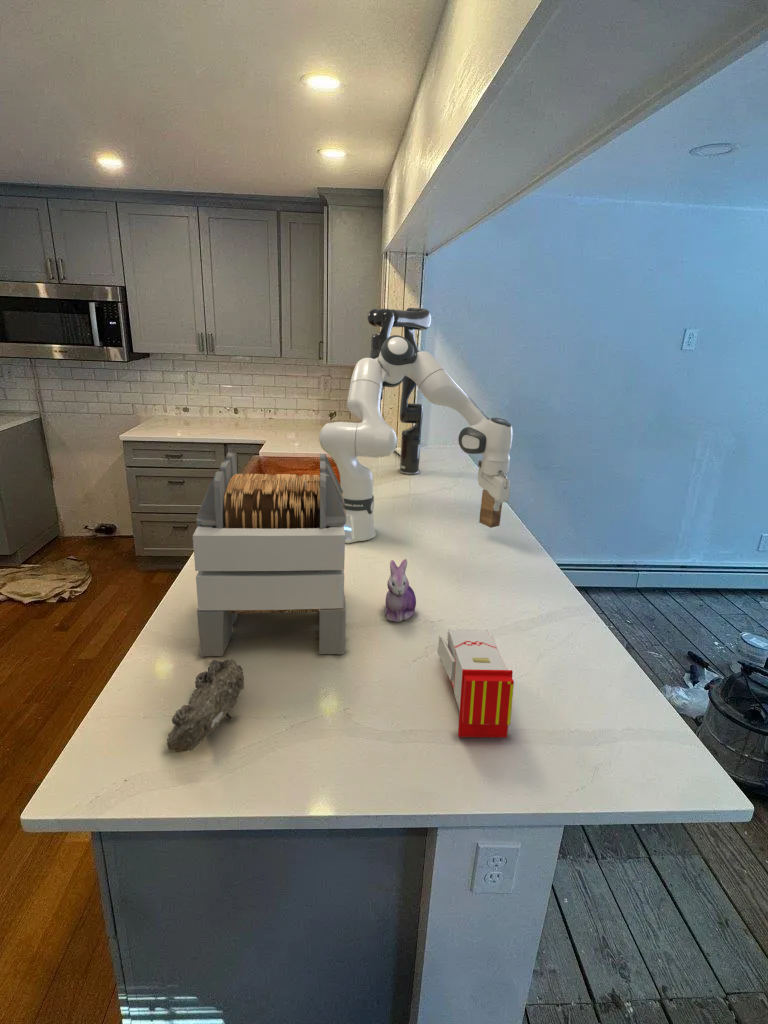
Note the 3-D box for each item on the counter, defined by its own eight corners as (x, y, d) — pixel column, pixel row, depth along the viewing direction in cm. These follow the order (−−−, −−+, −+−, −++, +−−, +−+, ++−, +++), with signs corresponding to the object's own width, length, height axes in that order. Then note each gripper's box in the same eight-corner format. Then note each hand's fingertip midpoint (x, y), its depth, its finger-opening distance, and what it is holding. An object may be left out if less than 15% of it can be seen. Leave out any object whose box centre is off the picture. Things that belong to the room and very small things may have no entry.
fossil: (192, 660, 117) (244, 628, 112) (224, 691, 120) (276, 661, 115) (142, 746, 98) (202, 712, 93) (182, 779, 101) (242, 748, 96)
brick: (490, 527, 194) (494, 494, 190) (479, 522, 198) (482, 490, 194) (499, 525, 196) (503, 493, 192) (487, 520, 200) (491, 488, 196)
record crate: (222, 587, 157) (213, 443, 143) (340, 586, 160) (343, 445, 147) (197, 659, 125) (183, 482, 111) (345, 655, 129) (349, 484, 115)
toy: (488, 613, 130) (523, 677, 101) (484, 667, 133) (517, 744, 104) (435, 612, 130) (455, 676, 101) (432, 666, 133) (451, 743, 103)
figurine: (392, 627, 141) (395, 572, 136) (374, 608, 149) (376, 556, 144) (425, 619, 145) (429, 566, 140) (405, 601, 154) (408, 550, 149)
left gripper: (517, 475, 181) (511, 516, 186) (493, 459, 200) (489, 496, 205) (498, 476, 180) (493, 517, 185) (476, 459, 199) (472, 497, 204)
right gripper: (385, 362, 223) (383, 404, 228) (391, 359, 236) (389, 399, 241) (366, 361, 224) (365, 402, 229) (373, 358, 237) (372, 397, 242)
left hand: (491, 506), depth 195 cm, fingers closed on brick, 7 cm apart
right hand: (377, 400), depth 235 cm, fingers open, 8 cm apart
